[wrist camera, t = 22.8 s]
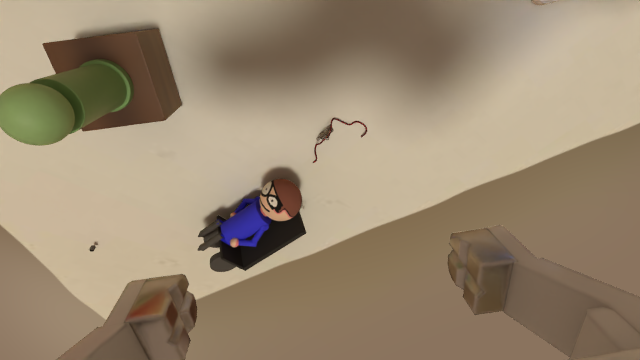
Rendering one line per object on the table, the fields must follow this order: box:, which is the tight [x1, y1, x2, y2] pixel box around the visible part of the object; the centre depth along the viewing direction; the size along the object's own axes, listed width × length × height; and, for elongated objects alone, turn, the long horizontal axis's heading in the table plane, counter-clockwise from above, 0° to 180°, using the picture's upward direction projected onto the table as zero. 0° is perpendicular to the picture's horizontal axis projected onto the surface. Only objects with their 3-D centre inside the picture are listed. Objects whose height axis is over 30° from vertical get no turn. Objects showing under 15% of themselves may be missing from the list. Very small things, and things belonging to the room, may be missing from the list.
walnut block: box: [43, 29, 182, 131], centre depth 33 cm, size 8×8×6 cm
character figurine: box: [198, 179, 306, 272], centre depth 42 cm, size 8×7×15 cm
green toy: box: [0, 59, 134, 145], centre depth 25 cm, size 5×5×12 cm
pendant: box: [313, 118, 367, 163], centre depth 40 cm, size 8×4×3 cm, turn 128°
